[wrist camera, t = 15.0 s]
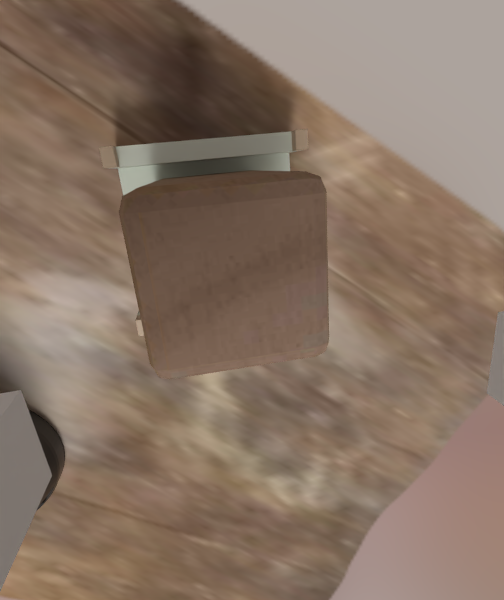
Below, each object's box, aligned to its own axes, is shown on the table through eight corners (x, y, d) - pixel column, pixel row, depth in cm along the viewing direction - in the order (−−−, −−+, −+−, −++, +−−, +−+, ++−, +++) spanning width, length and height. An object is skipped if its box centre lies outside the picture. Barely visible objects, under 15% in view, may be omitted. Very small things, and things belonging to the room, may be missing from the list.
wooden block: (152, 179, 35) (110, 191, 16) (258, 169, 36) (333, 169, 17) (170, 281, 38) (151, 390, 19) (266, 269, 39) (335, 360, 21)
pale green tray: (147, 307, 40) (138, 335, 33) (116, 151, 34) (98, 146, 28) (293, 287, 42) (313, 310, 35) (285, 136, 36) (307, 128, 30)
